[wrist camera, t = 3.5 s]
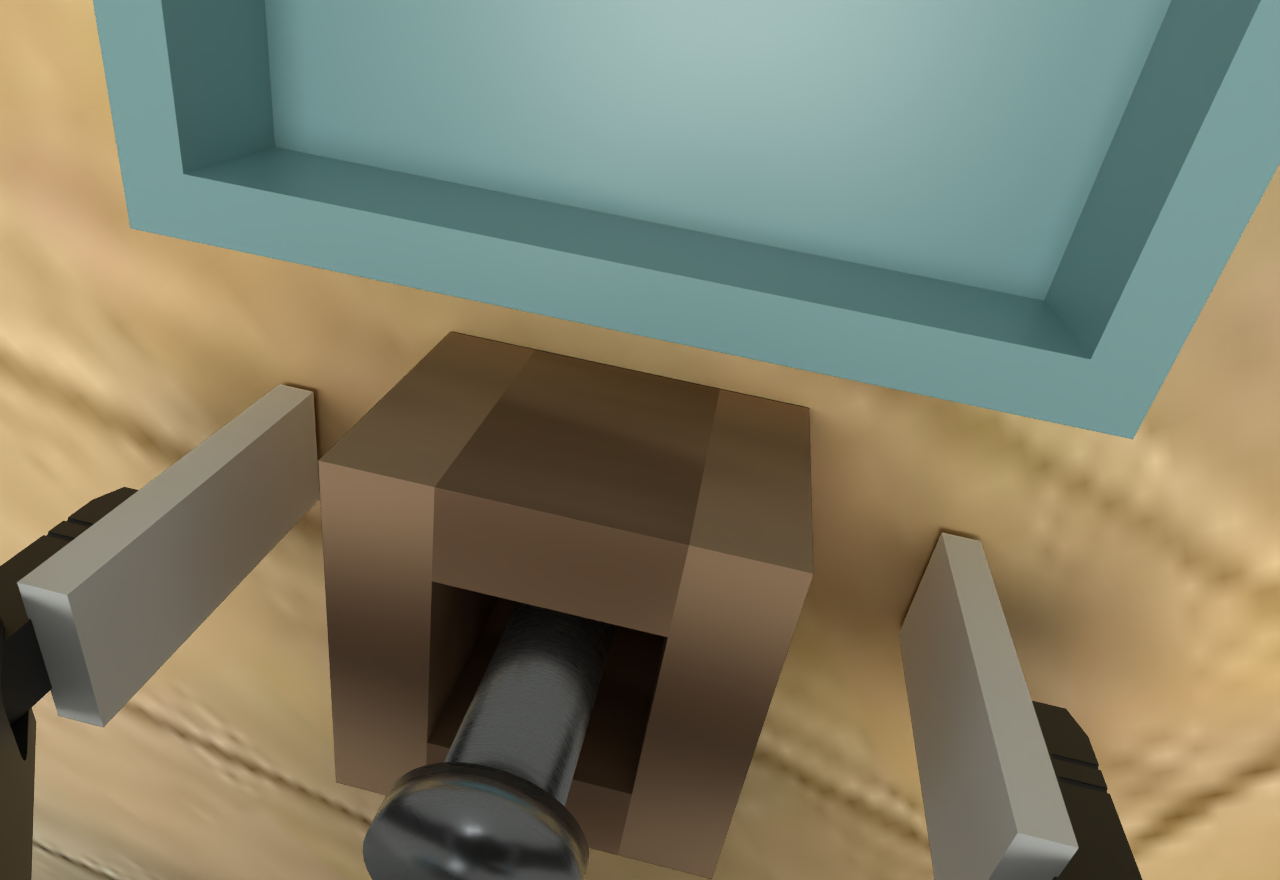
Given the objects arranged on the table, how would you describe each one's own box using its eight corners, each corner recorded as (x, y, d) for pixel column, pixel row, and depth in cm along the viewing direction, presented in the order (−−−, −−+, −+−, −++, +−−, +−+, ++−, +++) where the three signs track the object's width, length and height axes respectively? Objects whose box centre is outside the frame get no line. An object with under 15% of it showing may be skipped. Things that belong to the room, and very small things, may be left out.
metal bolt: (657, 583, 18) (565, 967, 11) (533, 554, 18) (365, 913, 11) (679, 477, 16) (591, 839, 9) (545, 447, 17) (359, 780, 10)
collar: (731, 674, 19) (711, 879, 14) (440, 604, 19) (335, 782, 15) (809, 408, 15) (813, 574, 11) (450, 331, 16) (318, 460, 11)
